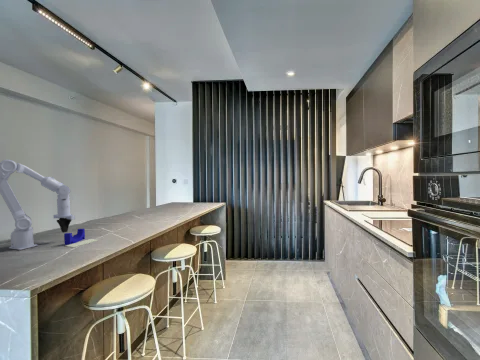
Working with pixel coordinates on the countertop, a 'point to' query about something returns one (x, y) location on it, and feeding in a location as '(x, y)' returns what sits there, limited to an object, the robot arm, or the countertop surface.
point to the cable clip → (74, 237)
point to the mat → (81, 243)
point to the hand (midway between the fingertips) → (64, 232)
